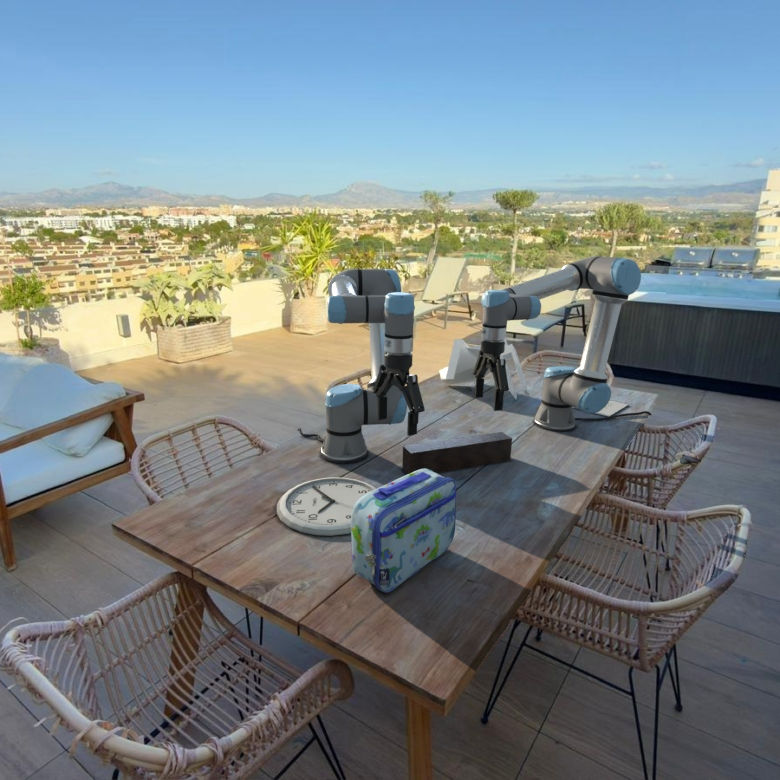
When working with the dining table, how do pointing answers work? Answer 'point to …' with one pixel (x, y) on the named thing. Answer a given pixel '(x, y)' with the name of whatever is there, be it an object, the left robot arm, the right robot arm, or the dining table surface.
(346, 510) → the wall clock
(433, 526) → the lunch box
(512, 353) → the white plastic object
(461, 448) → the walnut beam
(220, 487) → the dining table surface
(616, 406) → the invitation card
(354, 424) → the left robot arm
